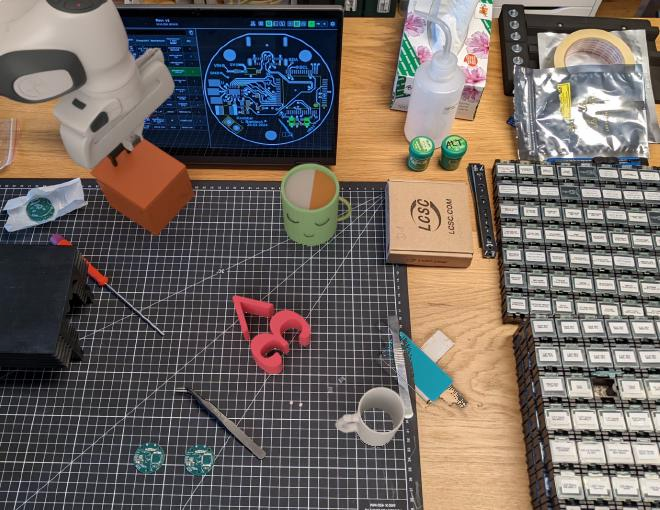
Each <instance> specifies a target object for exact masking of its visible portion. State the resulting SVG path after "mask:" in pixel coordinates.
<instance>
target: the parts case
mask: <svg viewBox="0 0 660 510" xmlns="http://www.w3.org/2000/svg"><path fill="white" fill-rule="evenodd" d="M95 181H96V183H97V184H98V187H99V188H100V190H101V192H102V194H103V195H104V197H105V199H106V200H107V202H108V205H109V206H110V207H111V208H113V209H114V210H115V211H116V212H119V213H120V214H122V215H123V216H125V217H127V218H128V219H129V220H131V221H133V222H134V223H135V224H137V225H139V226H140V227H141V228H143V229H145V230H146V231H147V232H149V233H150V234H153V235H154V236H155V237H157V236H159V234H160V233H162V231H164V229H165V228H166V227H167V226H168V225H169V224H170V223H171V222H172V220H173V219H174V218H175V217H176V216H177V215H178V214H179V213H180V212H181V211H182V210H183V209H184V207H186V206H187V204H188V203H189V202H190V201H191V200H192V199H193V198H194V197H195V195H196V194H195V192H194V191H195V190H194V189H193V186H192V182H191V179H190V175H189V172H188V169H187V168H186V169H185V170H184V171H183V172H182V173H181V174H180V175H179V176H178V177H177V178H176V179H175V180H174V181H173V182H172V183H171V184H170V185H169V187H168V188H167V189H166V190H165V191H164V192H163V193H162V194H161V195H160V196H159V197H158V198H157V199H156V200H155V201H154V202H153V203H152V204H151V205H150V206H149V207H148V208H147V209H146V210H145V211H144V210H142V209H141V208H140V207H138V206H137V205H135V204H134V203H132V202H131V201H129V200H128V199H126V198H125V197H123V196H122V195H120V194H119V193H117V192H116V191H114V190H113V189H111V188H110V187H108V186H107V185H105V184H104V183H102V182H101V181H99V180H98V179H97V178H96V180H95Z"/></svg>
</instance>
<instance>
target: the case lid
mask: <svg viewBox="0 0 660 510" xmlns="http://www.w3.org/2000/svg"><path fill="white" fill-rule="evenodd" d="M185 169H187V166H186V165H185V164H184V163H182V162H181V161H180V160H177V159H176V158H175V157H173V156H171V155H170V154H168V153H167V152H165V151H164V150H162V149H161V148H159V147H158V146H156V145H155V144H153V143H151V142H149V141H148V140H147V139H145V138H144V137H143V141H141V142H140V143H139V144H138V145H137V146H136V147H135V148H134V149H133V150H132V151H130V150H128V149H126V148H125V147H124V146H123V143H120V144H119V145H118V146H117V147H116V148H115V149H113V150H112V151H111V152H110V153H109V154H108V155H107V156H106V157H105V158H104V159H103V160H102V161H101V162H100V163H99V164H98V165H97V166H96V167H94V168H93V169H91V171H90V172H89V174H90V175H91V176H92V177H93V178H95V179H96V180H97V179H98V180H99V181H101V182H102V183H104V184H105V185H107V186H108V187H110V188H111V189H113V190H114V191H116V192H117V193H119V194H120V195H122V196H123V197H125V198H126V199H128V200H129V201H131V202H132V203H134V204H135V205H137V206H138V207H140V208H141V209H142V210H144V211H145V210H146V209H147V208H148V207H149V206H150V205H151V204H152V203H153V202H154V201H155V200H156V199H157V198H158V197H159V196H160V195H161V194H162V193H163V192H164V191H165V190H166V189H167V188H168V187H169V185H170V184H171V183H172V182H173V181H174V180H175V179H176V178H177V177H178V176H179V175H180V174H181V173H182V172H183V171H184V170H185Z"/></svg>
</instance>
